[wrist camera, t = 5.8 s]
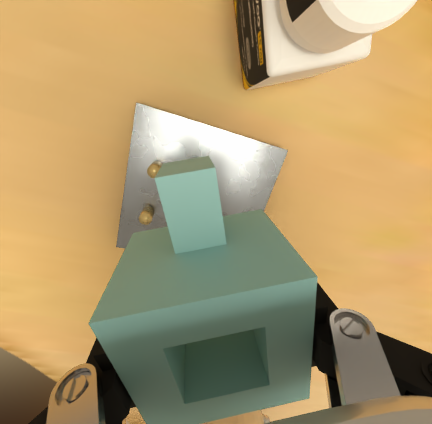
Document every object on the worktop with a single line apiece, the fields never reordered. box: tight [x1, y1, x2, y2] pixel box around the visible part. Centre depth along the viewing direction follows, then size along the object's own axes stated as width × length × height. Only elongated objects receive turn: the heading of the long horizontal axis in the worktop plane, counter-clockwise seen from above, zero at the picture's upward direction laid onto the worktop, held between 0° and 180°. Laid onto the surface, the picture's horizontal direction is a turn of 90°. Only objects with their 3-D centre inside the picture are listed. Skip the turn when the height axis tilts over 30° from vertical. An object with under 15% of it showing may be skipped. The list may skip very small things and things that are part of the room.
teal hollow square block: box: [89, 156, 317, 424], centre depth 9 cm, size 9×6×5 cm
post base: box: [116, 103, 288, 249], centre depth 21 cm, size 15×15×6 cm
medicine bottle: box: [234, 0, 417, 90], centre depth 14 cm, size 7×7×12 cm
